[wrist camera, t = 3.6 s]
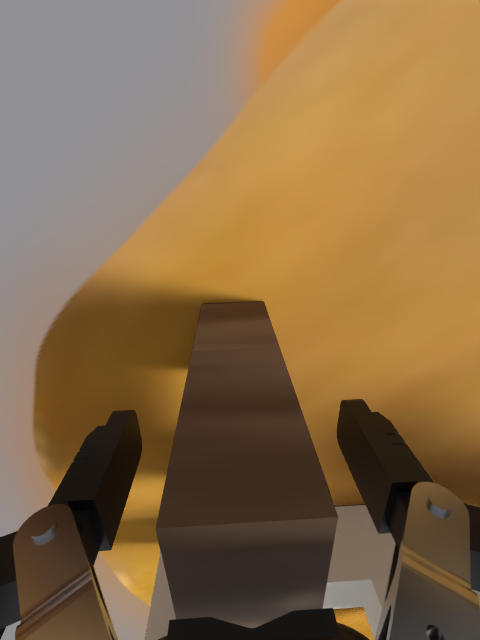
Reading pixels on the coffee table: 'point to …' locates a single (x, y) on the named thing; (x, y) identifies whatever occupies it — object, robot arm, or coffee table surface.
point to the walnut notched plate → (243, 481)
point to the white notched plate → (343, 579)
